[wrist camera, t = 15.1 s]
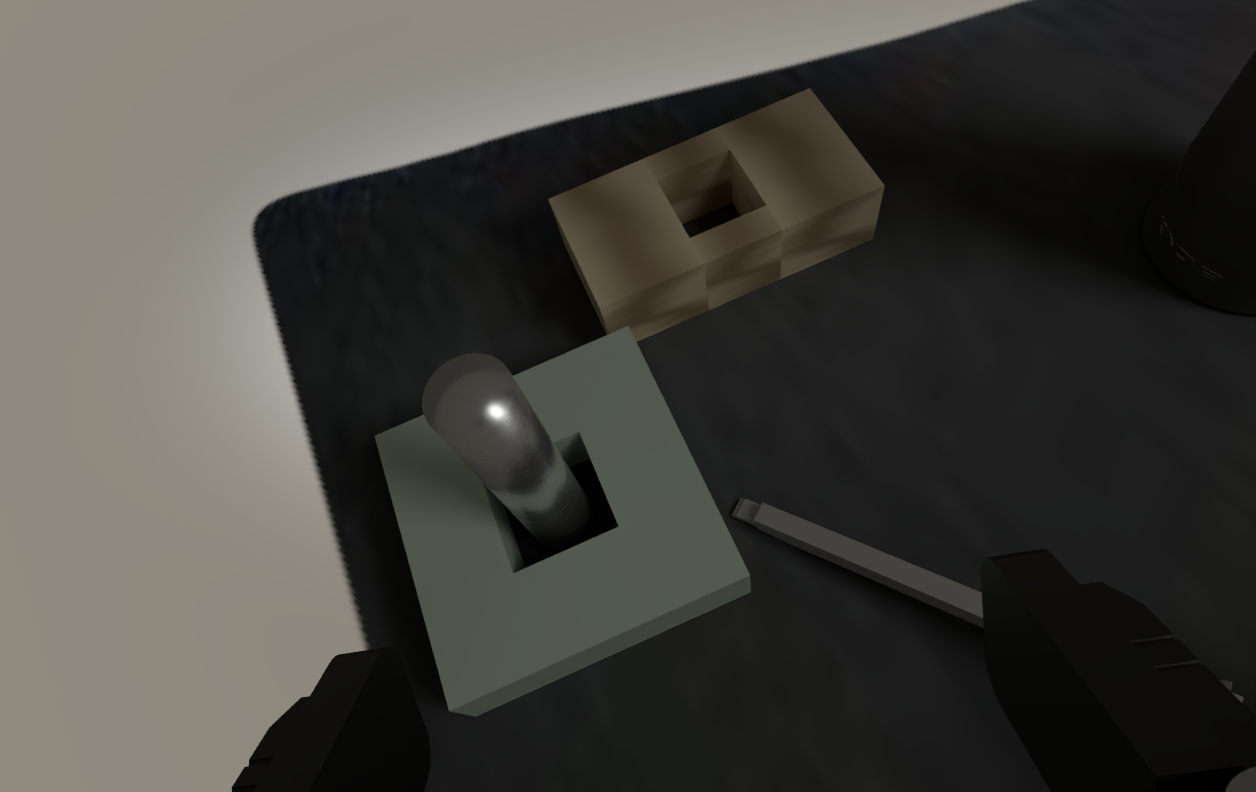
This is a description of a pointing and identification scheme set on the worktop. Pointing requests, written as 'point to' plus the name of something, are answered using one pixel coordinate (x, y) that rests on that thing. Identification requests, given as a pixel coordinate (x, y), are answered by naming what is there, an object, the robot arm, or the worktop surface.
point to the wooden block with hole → (703, 182)
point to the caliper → (869, 562)
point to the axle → (508, 448)
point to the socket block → (580, 576)
